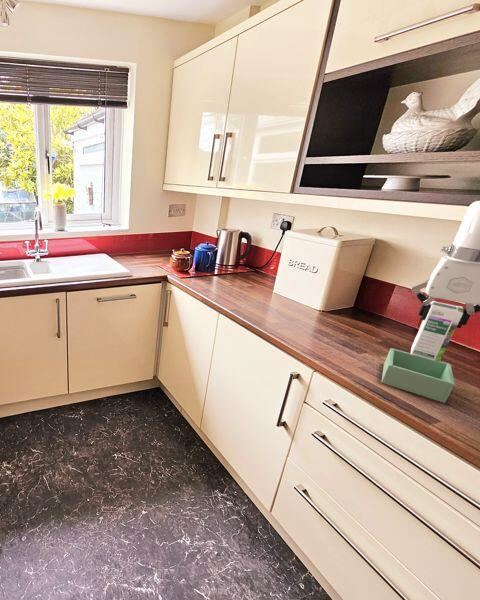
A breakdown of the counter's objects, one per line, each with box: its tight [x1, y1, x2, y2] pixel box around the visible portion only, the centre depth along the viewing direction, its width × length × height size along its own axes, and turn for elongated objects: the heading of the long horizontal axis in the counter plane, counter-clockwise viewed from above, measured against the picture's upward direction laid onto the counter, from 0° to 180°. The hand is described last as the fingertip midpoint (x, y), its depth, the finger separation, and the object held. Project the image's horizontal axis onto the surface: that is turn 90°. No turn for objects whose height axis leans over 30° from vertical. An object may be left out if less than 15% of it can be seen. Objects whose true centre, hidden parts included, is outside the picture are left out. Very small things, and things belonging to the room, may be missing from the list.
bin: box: [381, 347, 455, 404], centre depth 93 cm, size 13×13×6 cm
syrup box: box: [410, 300, 464, 362], centre depth 88 cm, size 6×6×14 cm
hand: (439, 321), depth 87 cm, fingers closed on syrup box, 5 cm apart
